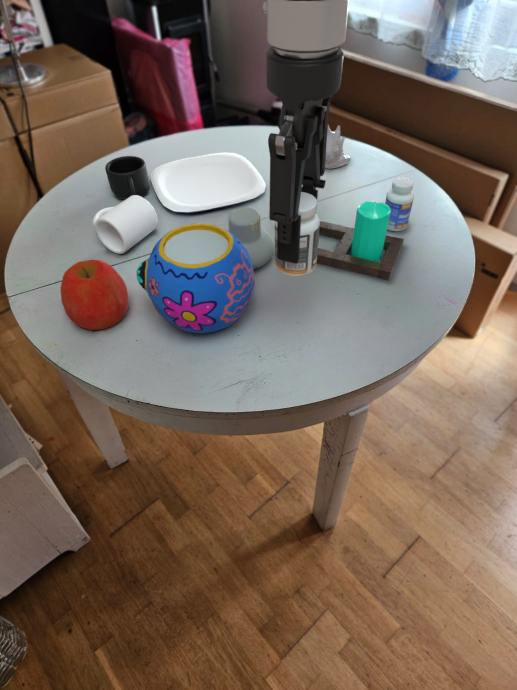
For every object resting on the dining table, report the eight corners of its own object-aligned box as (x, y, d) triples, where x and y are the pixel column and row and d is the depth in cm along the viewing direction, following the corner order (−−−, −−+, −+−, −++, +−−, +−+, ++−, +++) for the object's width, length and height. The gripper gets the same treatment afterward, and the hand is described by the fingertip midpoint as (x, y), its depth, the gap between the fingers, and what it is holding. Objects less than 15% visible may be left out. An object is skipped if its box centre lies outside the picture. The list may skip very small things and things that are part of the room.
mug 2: (161, 234, 99) (154, 200, 94) (129, 259, 94) (120, 224, 88) (119, 219, 104) (110, 185, 98) (86, 242, 98) (74, 208, 92)
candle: (387, 255, 93) (399, 200, 84) (369, 269, 90) (380, 214, 81) (361, 243, 96) (370, 189, 87) (344, 257, 93) (351, 202, 84)
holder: (402, 247, 95) (404, 238, 93) (388, 280, 88) (390, 272, 86) (305, 225, 101) (306, 217, 99) (286, 255, 94) (286, 247, 92)
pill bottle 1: (293, 248, 68) (296, 184, 60) (324, 265, 65) (331, 200, 58) (266, 266, 65) (265, 201, 58) (297, 284, 62) (300, 218, 55)
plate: (240, 153, 124) (239, 147, 123) (276, 200, 108) (276, 193, 106) (145, 171, 118) (143, 165, 117) (168, 224, 102) (166, 217, 101)
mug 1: (110, 188, 113) (102, 159, 108) (147, 181, 115) (141, 152, 110) (117, 213, 106) (109, 183, 100) (156, 205, 107) (151, 176, 102)
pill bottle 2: (399, 235, 97) (409, 192, 90) (376, 226, 100) (384, 183, 93) (411, 223, 100) (422, 181, 93) (389, 215, 103) (397, 173, 95)
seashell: (329, 174, 115) (332, 136, 109) (294, 158, 122) (296, 121, 115) (356, 161, 120) (361, 123, 113) (321, 146, 126) (324, 109, 119)
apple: (107, 286, 88) (91, 238, 80) (145, 310, 83) (132, 262, 76) (58, 317, 83) (36, 269, 75) (96, 345, 78) (76, 297, 70)
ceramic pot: (193, 272, 91) (182, 201, 80) (274, 301, 84) (274, 230, 73) (134, 328, 81) (112, 256, 70) (220, 367, 74) (211, 295, 63)
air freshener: (280, 256, 93) (281, 211, 86) (260, 280, 89) (259, 235, 81) (233, 241, 97) (230, 197, 90) (211, 263, 92) (206, 218, 85)
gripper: (301, 19, 52) (294, 205, 69) (228, 73, 41) (241, 281, 58) (367, 24, 50) (343, 215, 67) (310, 83, 39) (299, 296, 56)
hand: (296, 245), depth 62 cm, fingers closed on pill bottle 1, 6 cm apart
